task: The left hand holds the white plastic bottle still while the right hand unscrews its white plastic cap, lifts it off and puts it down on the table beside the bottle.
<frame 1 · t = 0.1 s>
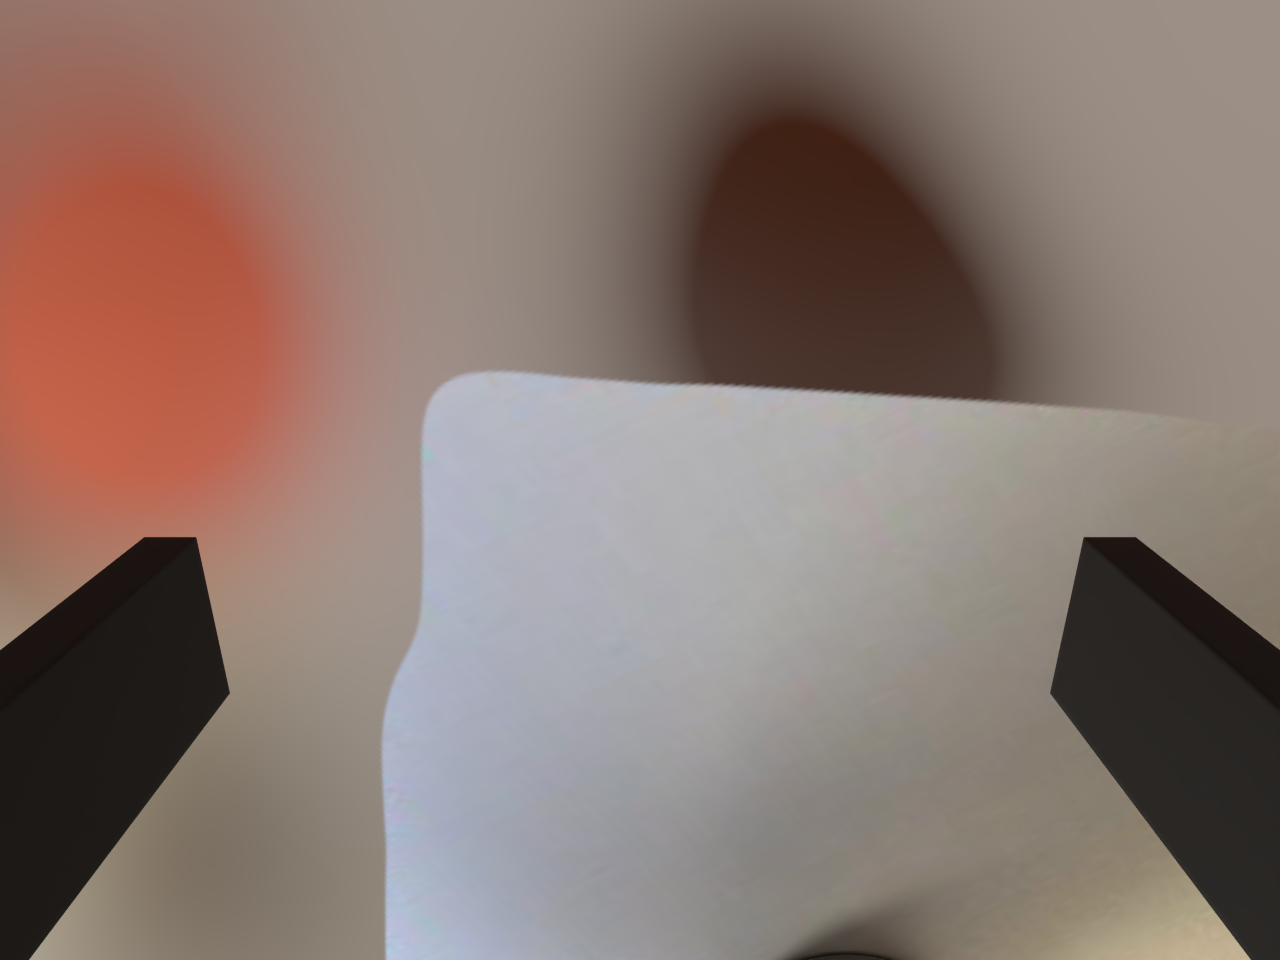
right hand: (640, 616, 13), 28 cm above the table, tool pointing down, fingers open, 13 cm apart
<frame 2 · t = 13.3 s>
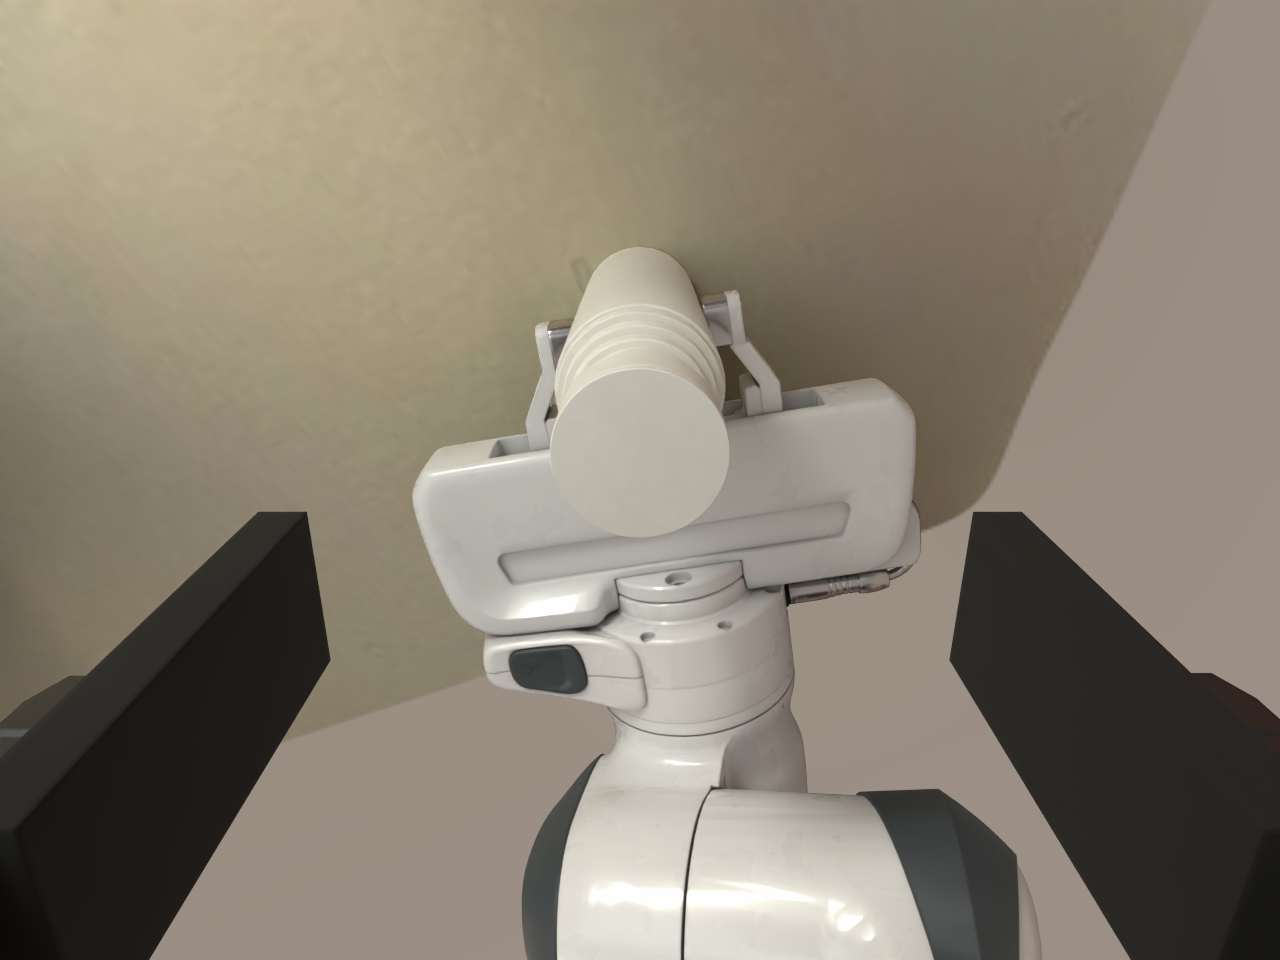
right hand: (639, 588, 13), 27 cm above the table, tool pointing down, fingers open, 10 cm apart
left hand: (635, 308, 32), fingers closed on bottle, 5 cm apart
bottle: (639, 303, 38), on the table, touching left hand
cap: (640, 452, 20), point 20 cm above the table, screwed on, not yet turned
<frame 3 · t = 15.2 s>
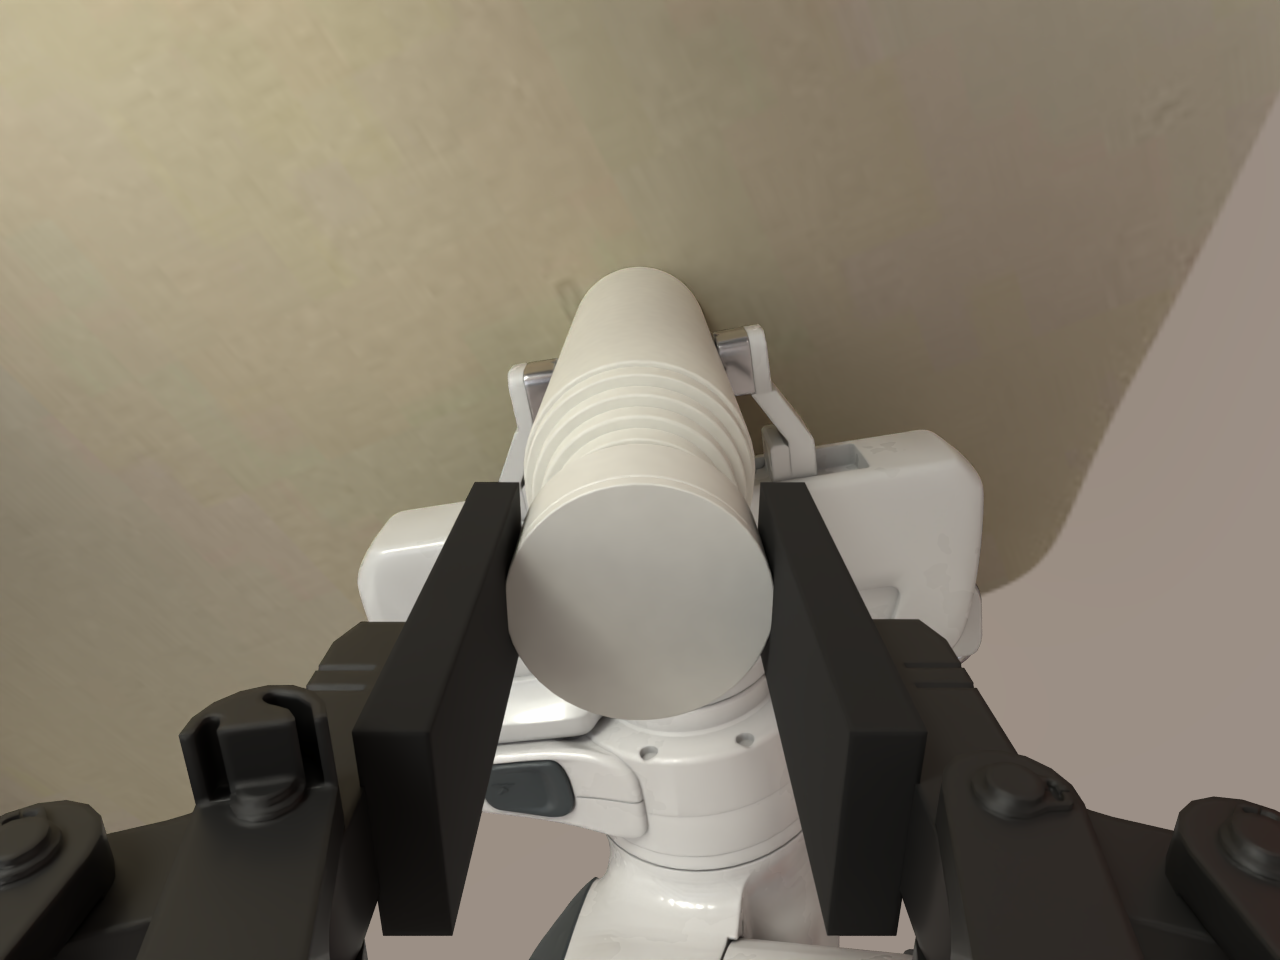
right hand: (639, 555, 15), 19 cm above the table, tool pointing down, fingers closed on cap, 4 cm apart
left hand: (633, 348, 26), fingers closed on bottle, 5 cm apart
bottle: (639, 334, 32), on the table, touching left hand
cap: (639, 599, 13), point 20 cm above the table, screwed on, not yet turned, touching right hand
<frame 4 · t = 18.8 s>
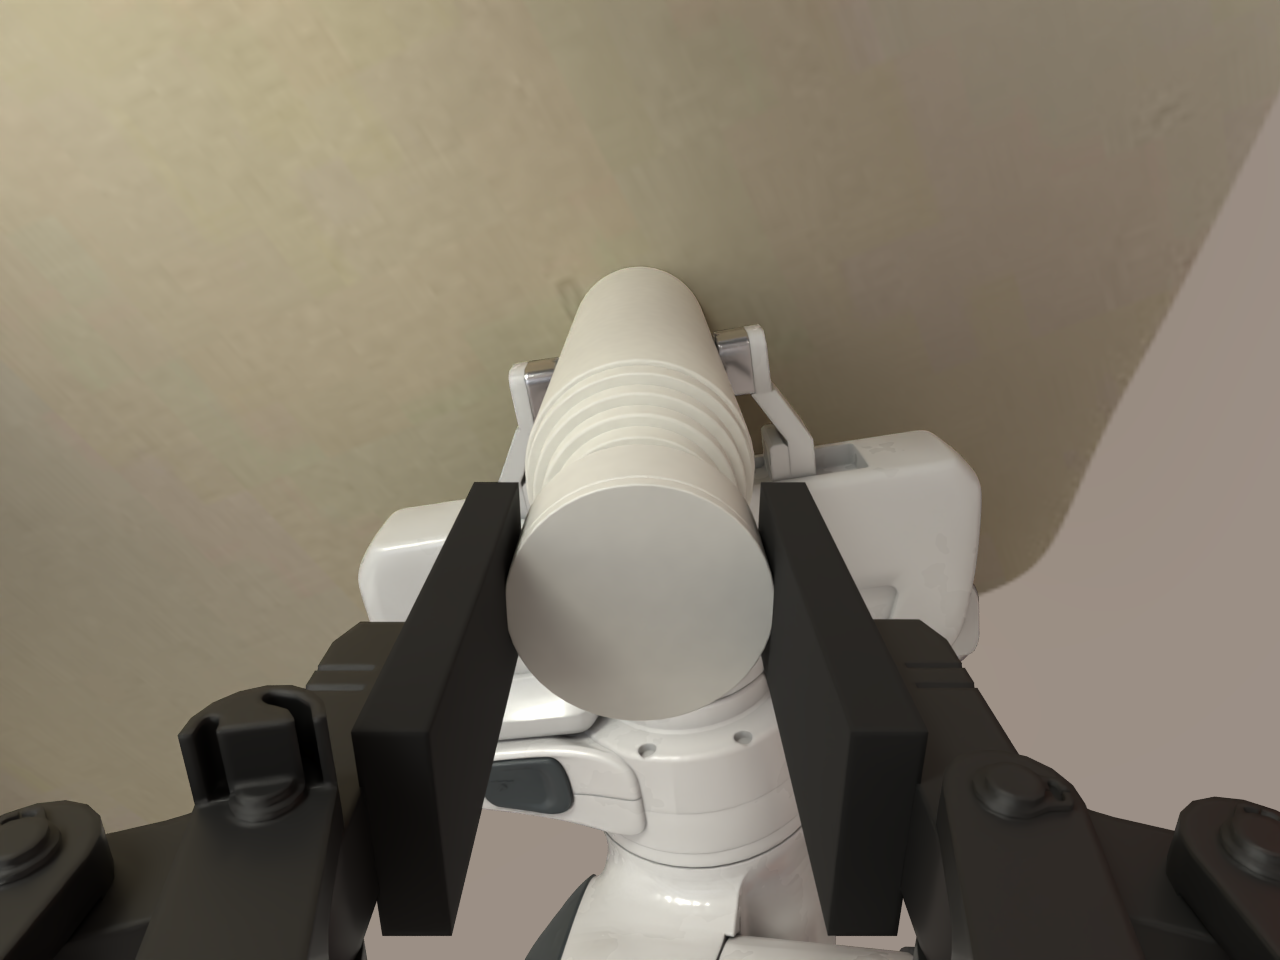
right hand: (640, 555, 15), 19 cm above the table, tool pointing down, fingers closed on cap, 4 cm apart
left hand: (633, 347, 26), fingers closed on bottle, 5 cm apart
bottle: (639, 333, 32), on the table, touching left hand
cap: (639, 600, 13), point 20 cm above the table, turned 113° so far, risen 0.1 cm, still on its thread, touching right hand
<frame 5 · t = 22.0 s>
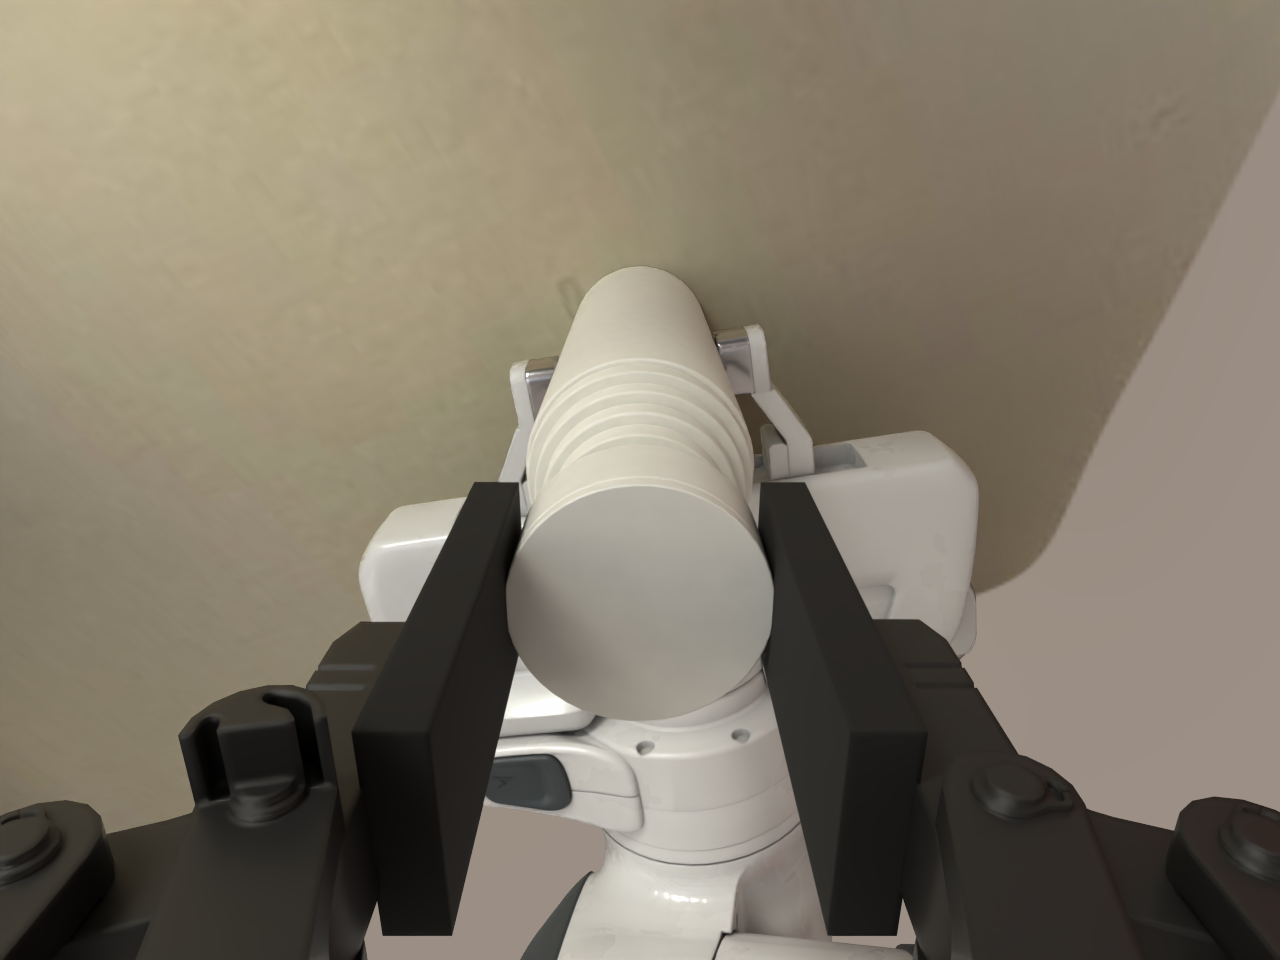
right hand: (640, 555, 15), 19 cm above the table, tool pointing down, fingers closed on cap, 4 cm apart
left hand: (634, 346, 26), fingers closed on bottle, 5 cm apart
bottle: (639, 332, 32), on the table, touching left hand
cap: (639, 600, 13), point 21 cm above the table, turned 226° so far, risen 0.3 cm, still on its thread, touching right hand
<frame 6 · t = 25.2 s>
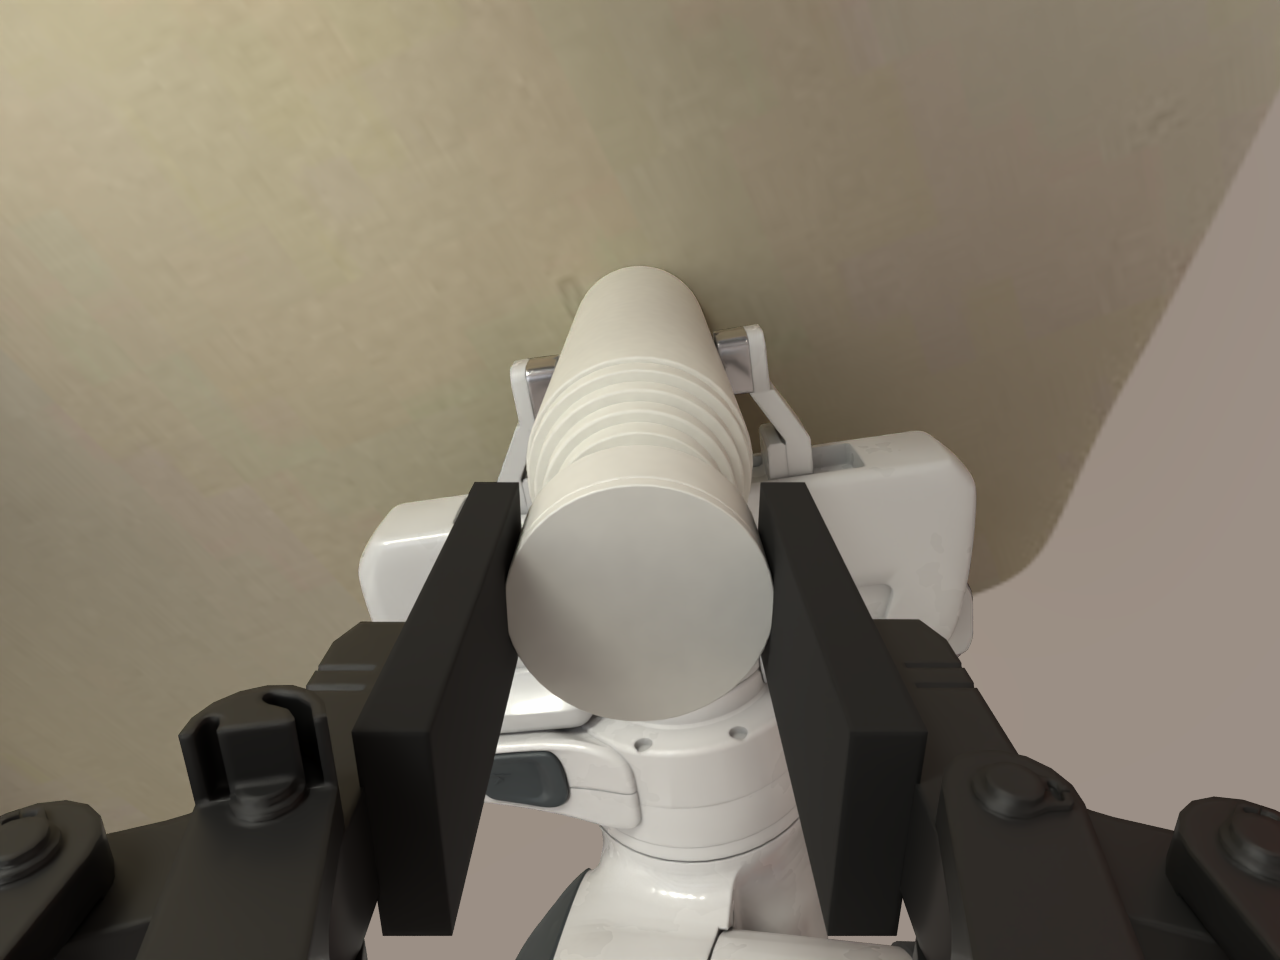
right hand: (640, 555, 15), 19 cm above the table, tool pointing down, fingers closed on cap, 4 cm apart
left hand: (633, 345, 26), fingers closed on bottle, 5 cm apart
bottle: (639, 332, 32), on the table, touching left hand
cap: (639, 600, 13), point 21 cm above the table, turned 339° so far, risen 0.4 cm, still on its thread, touching right hand
when the right hand's fingers open (1 cm above the table, at t = 32.3 s): cap stays where it is, point 2 cm above the table.
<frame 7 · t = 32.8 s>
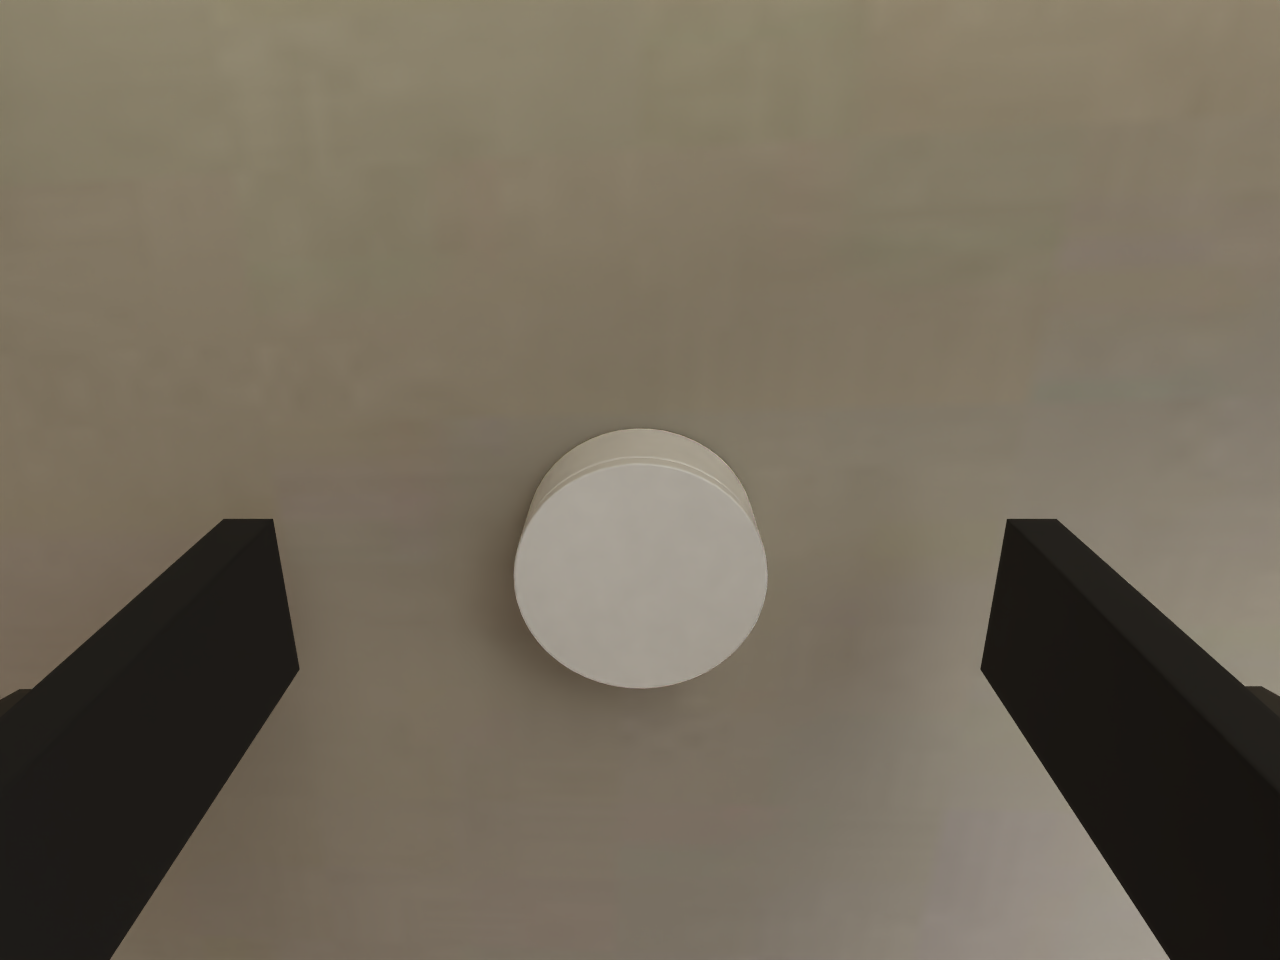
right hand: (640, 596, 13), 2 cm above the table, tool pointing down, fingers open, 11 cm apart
cap: (640, 574, 14), point 2 cm above the table, off its thread
when the left hand's fingers open (6 cm above the table, at t = 33.7 s): bottle stays where it is, on the table.
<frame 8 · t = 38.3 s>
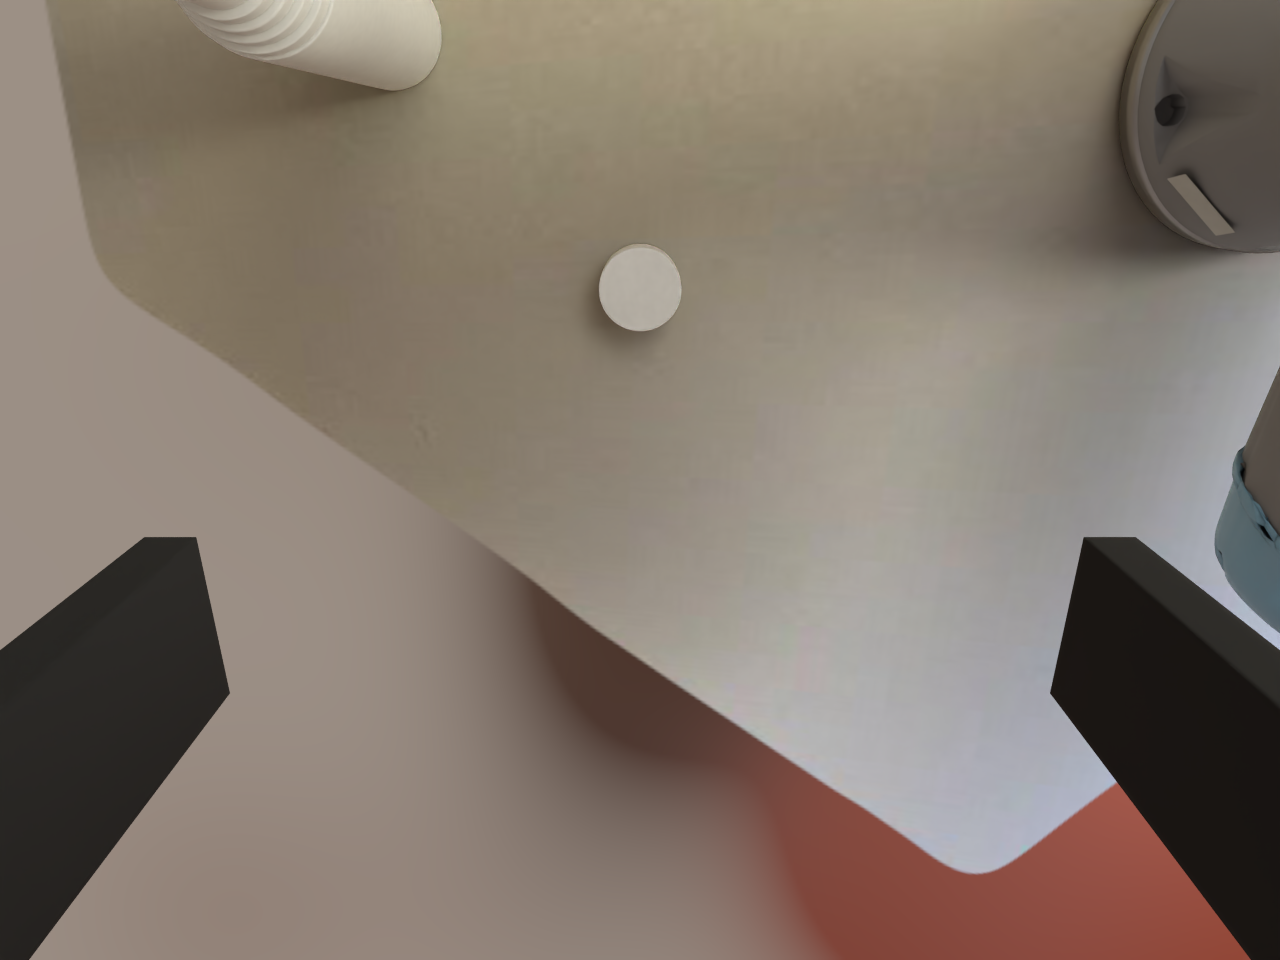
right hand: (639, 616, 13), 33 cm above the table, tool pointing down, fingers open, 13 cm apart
bottle: (388, 31, 39), on the table
cap: (640, 289, 42), point 2 cm above the table, off its thread
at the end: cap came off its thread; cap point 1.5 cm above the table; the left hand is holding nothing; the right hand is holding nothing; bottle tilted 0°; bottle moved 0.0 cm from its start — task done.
